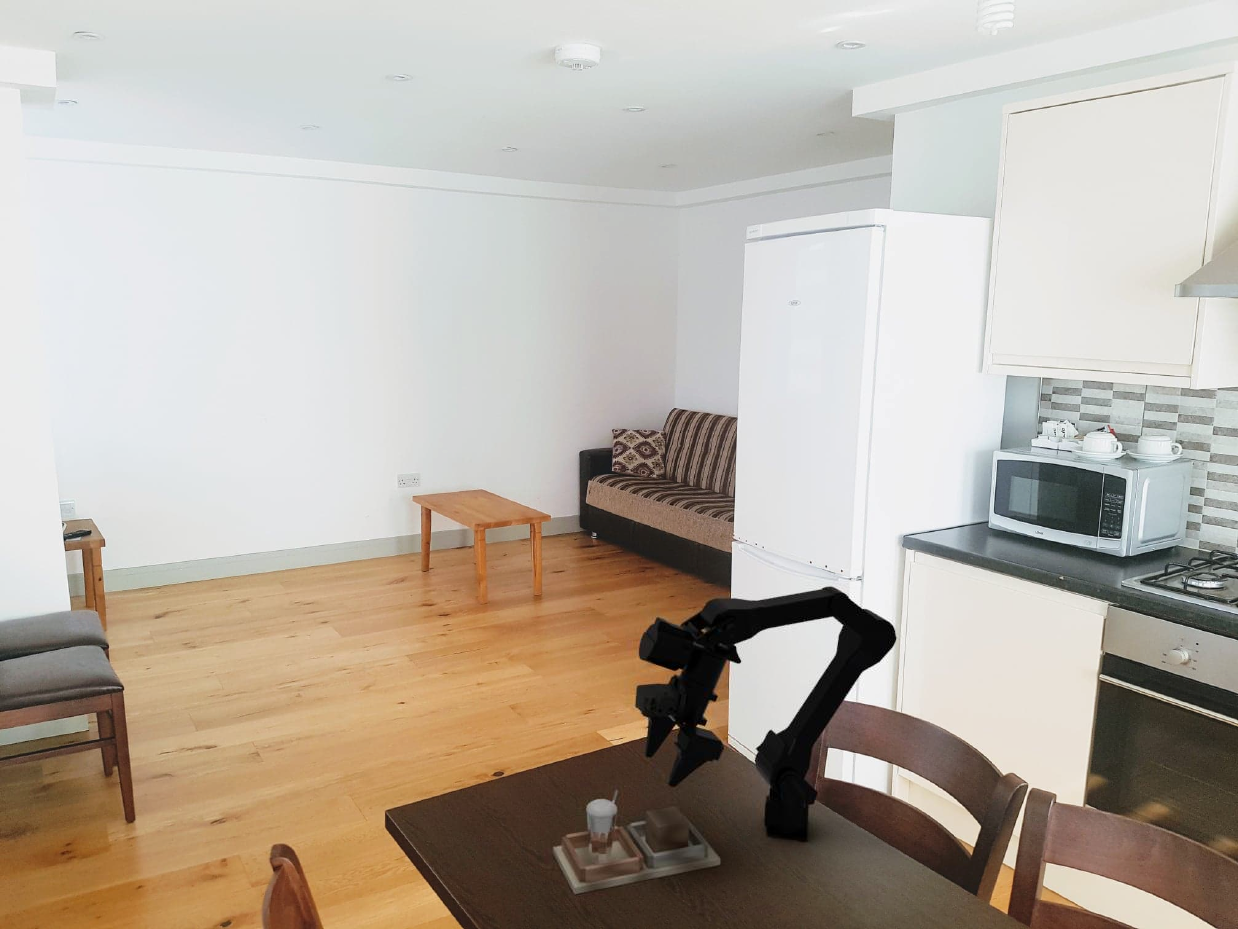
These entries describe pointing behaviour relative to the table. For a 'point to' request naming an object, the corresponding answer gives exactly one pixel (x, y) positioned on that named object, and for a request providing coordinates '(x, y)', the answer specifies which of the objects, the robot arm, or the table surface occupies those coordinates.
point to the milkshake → (601, 829)
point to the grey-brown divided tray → (637, 852)
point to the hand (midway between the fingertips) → (659, 771)
